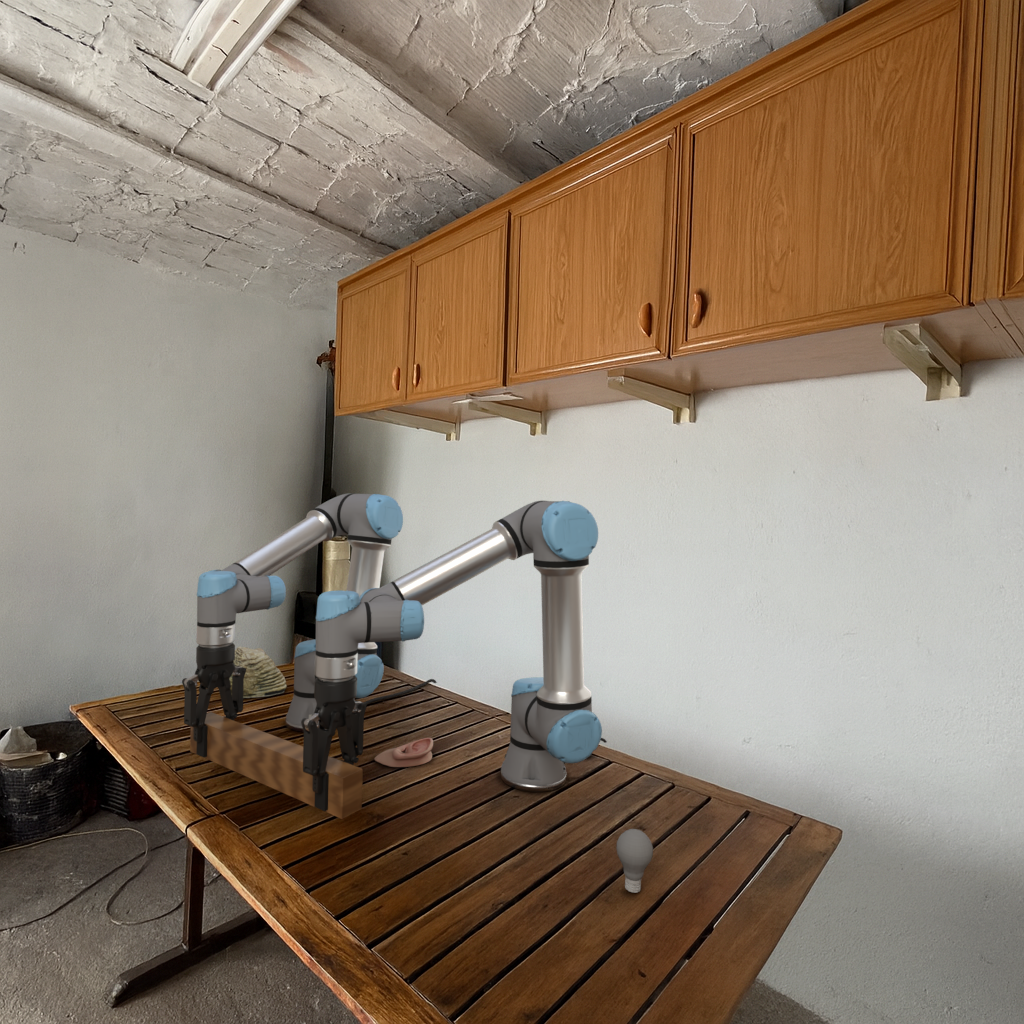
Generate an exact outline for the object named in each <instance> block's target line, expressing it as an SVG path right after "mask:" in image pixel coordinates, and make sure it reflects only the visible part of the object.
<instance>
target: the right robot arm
mask: <svg viewBox="0 0 1024 1024" xmlns="http://www.w3.org/2000/svg"><path fill="white" fill-rule="evenodd" d="M598 527H599V526H598V524H597V520H596V519H595V517H594V515H593V514H592V512H590V511H589V509H588V508H586V507H585V506H583V505H582V504H580V503H577V502H571V501H570V500H536V501H532V502H529V503H527V504H525V505H523V506H521V507H519V508H518V509H516V510H514V511H512V512H511V513H509V514H507V515H505V516H503V517H502V518H499V519H498V520H496V521H495V522H493V524H492V527H491V529H489V530H487V531H485V532H483V533H481V534H479V535H477V536H475V537H474V538H472V539H470V540H468V541H466V542H464V543H462V544H460V545H459V546H457V547H455V548H452V549H451V550H449V551H447V552H445V553H443V554H441V555H440V556H437V557H436V558H434V559H431V560H430V561H428V562H426V563H424V564H423V565H420V566H419V567H416V568H415V569H413V570H411V571H409V572H407V573H406V574H403V575H402V576H400V577H398V578H396V579H394V580H393V581H390V582H388V583H386V584H384V585H383V586H381V587H380V588H371V589H368V590H366V591H365V592H363V593H362V594H361V596H360V597H359V594H358V593H357V592H354V591H346V590H341V589H339V590H328V591H324V592H321V594H319V596H318V597H317V604H316V615H315V639H316V654H315V676H316V677H317V678H316V679H315V686H314V697H315V700H316V703H317V705H316V708H315V711H314V715H312V716H311V717H310V718H309V719H307V718H303V719H302V721H301V724H302V727H303V731H304V732H303V744H302V746H303V772H305V773H307V774H310V775H312V776H313V782H312V783H313V784H312V790H313V792H315V806H313V807H314V808H316V809H318V810H321V811H323V812H325V811H326V810H328V787H329V774H328V773H325V771H326V766H327V761H328V756H329V755H330V751H331V746H332V742H333V741H332V740H333V737H334V736H335V735H336V732H337V736H338V742H339V749H340V755H341V758H342V759H339V760H340V761H343V762H346V763H348V764H351V765H354V766H355V764H357V763H358V762H359V757H358V756H362V755H363V753H364V729H365V728H364V727H365V725H364V724H365V714H366V709H367V706H368V704H367V705H366V703H363V702H362V701H360V700H355V699H356V698H355V697H356V695H357V677H356V676H355V675H356V674H357V663H358V643H368V642H375V643H386V642H405V641H413V640H417V639H420V638H421V637H422V635H423V632H424V629H425V614H424V613H425V612H424V607H423V606H424V605H426V604H427V603H429V602H431V601H433V600H435V599H437V598H438V597H440V596H442V595H444V594H446V593H447V592H449V591H451V590H453V589H455V588H457V587H459V586H460V585H462V584H464V583H466V582H468V581H470V580H472V579H473V578H475V577H477V576H479V575H480V574H481V575H482V574H483V573H485V572H486V571H488V570H490V569H492V568H494V567H496V566H497V565H499V564H501V563H502V562H504V561H506V560H511V561H516V560H517V559H519V558H521V557H523V556H526V555H529V554H533V555H532V558H533V567H534V568H535V569H536V570H537V572H539V573H540V587H541V589H540V591H541V592H540V593H541V594H540V595H541V628H542V629H541V630H542V634H541V635H542V669H543V672H542V673H543V675H542V676H537V677H536V676H535V677H534V676H532V677H531V676H530V677H524V678H519V679H517V680H515V681H514V682H513V684H512V691H511V694H510V696H511V706H510V707H511V710H510V735H509V745H508V748H507V751H506V753H505V755H504V758H503V759H504V760H503V761H502V764H501V766H500V778H501V780H502V782H503V783H504V784H506V785H507V786H509V787H511V788H513V789H516V790H519V791H523V792H529V793H532V792H533V793H545V792H551V791H555V790H557V789H560V788H561V787H563V786H564V785H565V784H566V782H567V768H566V765H565V764H570V765H571V764H578V763H581V762H583V761H585V760H587V759H588V758H590V757H592V755H593V752H594V751H596V750H597V748H598V746H599V745H600V742H603V743H605V744H606V743H608V741H607V740H606V739H605V738H604V737H602V735H603V727H602V723H601V721H600V719H599V718H598V715H597V714H596V713H595V712H593V706H592V705H593V703H592V701H593V699H592V691H591V690H590V689H589V688H588V687H587V686H586V685H585V669H584V667H585V666H584V618H583V609H584V608H583V572H584V571H585V570H587V568H588V567H589V566H590V555H591V554H592V553H593V550H594V549H595V548H596V546H597V544H598V541H599V528H598ZM318 721H319V723H318ZM327 729H328V730H327ZM318 766H319V767H318Z"/></svg>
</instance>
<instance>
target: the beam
mask: <svg viewBox="0 0 1024 1024" xmlns="http://www.w3.org/2000/svg"><path fill="white" fill-rule="evenodd" d="M223 716H224V715H223ZM223 716H222V715H220V714H217V713H215V712H211V711H210V712H207V714H206V719H205V723H204V725H206V726H208V736H207V757H204V759H206V760H208V761H211V762H212V763H215V764H217V765H219V766H221V767H224V768H226V769H228V770H231V771H233V772H235V773H238V774H240V775H242V776H243V777H246V778H249V779H250V780H252V781H255V782H258V783H260V784H262V785H264V786H267V787H269V788H270V789H273V790H276V791H278V792H280V793H282V794H285V795H286V796H288V797H292V798H293V799H296V800H298V801H300V802H303V803H305V804H307V805H310V806H311V807H314V806H315V792H313V790H312V784H313V783H312V782H313V776H312V775H310V774H307V773H305V772H303V745H300V744H297V743H294V742H292V741H290V740H288V739H284V738H281V737H279V736H276V735H273V734H271V733H268V732H265V731H262V730H260V729H257V728H255V727H252V726H249V725H246V724H244V723H242V722H238V721H235V720H234V721H233V720H231V719H228V718H225V717H223ZM193 729H194V728H193V727H191V726H190V733H189V734H190V738H189V739H190V742H189V752H190V753H192V754H195V755H197V754H196V749H197V742H196V741H194V739H193ZM340 760H341V759H337V758H336V757H333V756H328V761H327V766H326V771H325V773H328V774H329V787H328V810H326V811H324V813H327V814H330V815H331V816H334V817H336V818H339V819H341V820H343V819H345V818H347V817H349V816H350V815H351V816H352V814H355V813H356V812H358V811H360V810H362V808H363V807H362V806H363V775H364V773H363V772H364V769H363V768H361V767H359V766H357V765H355V764H354V765H351V764H348V763H346V762H343V761H344V760H343V761H340ZM318 767H319V766H318Z"/></svg>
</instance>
